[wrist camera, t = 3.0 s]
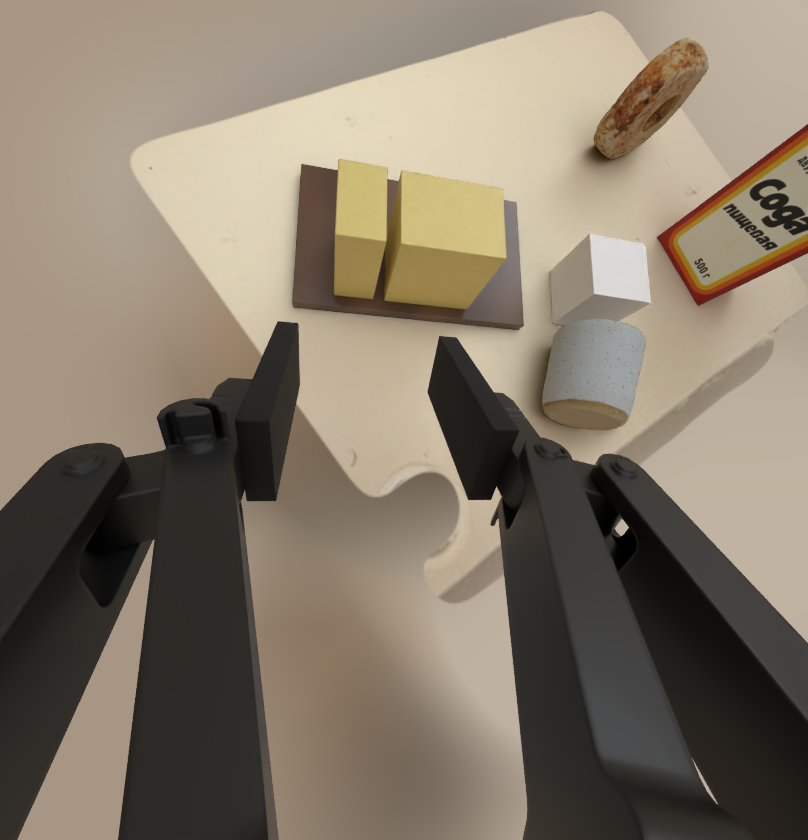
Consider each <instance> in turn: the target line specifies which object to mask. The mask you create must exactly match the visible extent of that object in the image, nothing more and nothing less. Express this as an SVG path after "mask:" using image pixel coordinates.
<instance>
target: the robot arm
mask: <svg viewBox="0 0 808 840" xmlns="http://www.w3.org/2000/svg"><path fill="white" fill-rule="evenodd" d="M299 386H300V373H299V330H298V323H290V322H279V321H278V322H277V324H276V327H275V329H274V331H273V333H272V336H271V338H270V340H269V342H268V345H267V347H266V349H265V352H264V354H263V356H262V358H261V361H260V363H259V365H258V368H257V370H256V372H255V375H254V377H253V379H238V378H228V379H227V380H225V381H224V382H222V383H221V384H219V385H218V386H217V387H216V389H215V391H214V393H213V394H212V397H211V398H210V399H205V398H201V399H199V398H192V399H187V400H181V401H178V402H175V403H173V404H170V405H168V406H167V407H165V408H164V409H162V410H161V411H160V413H159V415H158V416H157V420H158V423H159V426H160V430H161V433H162V436H163V440H164V443H165V446H166V450H163V451H159V452H155V453H151V454H145V455H139V456H133V457H127V458H124V455H123V453H122V451H121V449H120V448H119V447H116V446H115V445H112V444H106V443H93V444H84V445H80V446H76V447H73V448H70V449H67V450H65V451H63V452H61V453H59V454H57V455H55V456H54V457H52V458H51V459H50V460H48V461H47V462H46V463H45V464H44V465H43V466H42V467H41V468H40V469H39V470H38V471H37V472H36V473H35V474H34V475H33V476H32V478H30V480H29V481H28V482H27V483H26V484H25V485H24V486H23V487H22V489H20V490H19V491H18V492H17V493H16V495H15V496H14V497H13V498H12V499H11V500H10V501H9V502H8V503H7V504H6V505H5V506H4V508H3V509H2V510H1V511H0V840H17V839H18V837H19V834H20V832H21V830H22V828H23V826H24V823H25V821H26V819H27V817H28V814H29V812H30V810H31V808H32V806H33V804H34V801H35V799H36V797H37V795H38V792H39V790H40V788H41V786H42V783H43V781H44V779H45V777H46V775H47V773H48V770H49V768H50V766H51V764H52V762H53V759H54V757H55V755H56V752H57V750H58V748H59V746H60V744H61V742H62V739H63V737H64V735H65V733H66V731H67V728H68V726H69V724H70V722H71V720H72V717H73V715H74V713H75V711H76V708H77V706H78V704H79V702H80V700H81V698H82V695H83V693H84V691H85V689H86V686H87V684H88V682H89V680H90V678H91V675H92V673H93V671H94V669H95V667H96V664H97V662H98V660H99V658H100V656H101V653H102V651H103V649H104V646H105V645H106V642H107V640H108V638H109V636H110V633H111V631H112V629H113V627H114V625H115V622H116V620H117V618H118V616H119V614H120V611H121V609H122V607H123V605H124V603H125V600H126V598H127V596H128V594H129V591H130V589H131V587H132V585H133V582H134V580H135V578H136V576H137V574H138V572H139V569H140V567H141V565H142V563H143V561H144V558H145V556H146V554H147V551H148V550H149V547H150V545H151V543H152V541H153V540H154V539H155V542H154V549H153V558H152V566H151V574H150V582H149V590H148V598H147V607H146V616H145V623H144V631H143V640H142V649H141V656H140V664H139V672H138V681H137V689H136V697H135V705H134V713H133V722H132V730H131V738H130V746H129V755H128V763H127V771H126V779H125V788H124V796H123V804H122V813H121V820H120V828H119V837H118V840H279V839H278V830H277V821H276V811H275V803H274V793H273V785H272V775H271V767H270V757H269V748H268V739H267V729H266V721H265V711H264V702H263V693H262V684H261V676H260V665H259V657H258V647H257V639H256V629H255V620H254V611H253V602H252V593H251V584H250V574H249V565H248V556H247V547H246V538H245V528H244V519H243V511H242V505H241V499H242V496H243V493H244V490H245V492H246V498H247V501H276V498H277V493H278V488H279V484H280V479H281V473H282V469H283V464H284V459H285V454H286V449H287V445H288V440H289V435H290V429H291V425H292V420H293V415H294V410H295V406H296V401H297V396H298V391H299ZM428 395H429V397H430V400H431V403H432V405H433V408H434V411H435V413H436V416H437V419H438V421H439V424H440V427H441V429H442V432H443V434H444V437H445V440H446V442H447V445H448V448H449V450H450V453H451V456H452V458H453V461H454V463H455V466H456V469H457V471H458V474H459V477H460V479H461V482H462V485H463V487H464V490H465V492H466V495H467V498H468V500H491V499H492V496H493V494H494V491H495V489H496V486H497V488H498V490H499V492H500V494H501V496H502V497H501V499H500V501H499V504H498V506H497V508H496V511H495V513H494V515H493V518H492V520H491V526H494V525H495V523H496V521H497V519H498V518H499V527H500V537H501V547H502V557H503V567H504V577H505V586H506V596H507V606H508V616H509V626H510V636H511V646H512V655H513V665H514V675H515V685H516V695H517V704H518V714H519V724H520V734H521V744H522V753H523V764H524V774H525V783H526V793H527V821H526V826H525V831H524V836H523V840H808V643H807V642H806V641H805V640H804V639H803V638H802V637H801V635H799V634H798V632H797V631H796V630H795V629H794V628H793V627H792V626H791V625H790V624H789V623H788V622H787V621H786V620H785V619H784V618H783V617H782V615H781V614H780V613H779V612H778V611H777V610H776V609H775V608H774V607H773V606H772V605H771V604H770V603H769V602H768V601H767V600H766V599H765V597H764V596H763V595H762V594H761V593H760V592H759V591H758V590H757V589H756V588H755V587H754V586H753V585H752V584H751V583H750V582H749V580H747V578H746V577H745V576H744V575H743V574H742V573H741V572H740V571H739V570H738V569H737V568H736V567H735V566H734V565H733V564H732V562H731V561H729V559H728V558H727V557H726V556H725V555H724V554H723V553H722V552H721V551H720V550H719V549H718V548H717V547H716V546H715V545H714V543H713V542H712V541H711V540H710V539H709V538H708V537H707V536H706V535H705V534H704V533H703V532H702V531H701V530H700V529H699V528H698V527H697V525H695V524H694V522H693V521H692V520H691V519H690V518H689V517H688V516H687V515H686V514H685V513H684V512H683V511H682V510H681V509H680V507H679V506H678V505H677V504H676V503H675V502H674V501H673V500H672V499H671V498H670V497H669V496H668V495H667V494H666V493H665V492H664V491H663V489H662V488H661V487H660V486H659V485H657V483H656V482H655V481H654V480H653V479H652V478H651V477H650V476H649V475H648V474H647V473H646V472H645V471H644V470H643V469H642V468H641V467H640V466H639V465H638V464H636V463H634V462H633V461H631V460H630V459H628V458H626V457H623V456H620V455H614V454H603V455H602V456H600V457H599V459H598V460H597V462H596V464H595V465H591V464H587V463H583V462H579V461H575V460H572V457H571V455H570V454H569V452H568V451H567V450H566V449H565V448H564V447H562V446H561V445H560V444H558V443H556V442H554V441H552V440H549V439H546V438H540V436H539V435H538V434H537V432H536V431H535V430H534V428H533V427H532V426H531V424H530V423H529V421H528V420H527V419H526V418H524V417H525V416H524V415H523V413H522V412H521V411H519V408H518V407H517V405H516V404H515V402H514V401H513V400H511V399H510V398H509V397H507V396H506V395H505V394H503V393H494V392H493V391H492V389H491V388H490V386H489V385H488V383H487V382H486V380H485V379H484V377H483V376H482V374H481V373H480V371H479V370H478V369H477V367H476V366H475V364H474V363H473V361H472V360H471V358H470V357H469V355H468V354H467V352H466V351H465V349H464V348H463V346H462V345H461V343H460V342H459V340H458V339H457V338H455V337H444V336H439V340H438V345H437V350H436V355H435V359H434V364H433V369H432V373H431V378H430V383H429V387H428ZM621 519H623V520H624V521H625V523H626V524H627V525H628V527H629V528H628V530H627V531H626V532H625V534H624V535H623V536H620V535H619V534H618V533H617V532H616V530H615V529H614V528H615V527H616V526H617V524H618V523H619V522H620V520H621ZM692 758H693V760H694V762H695V764H696V765H697V767H698V769H699V771H700V772H701V774H702V776H703V778H704V780H705V782H706V783H707V785H708V787H709V789H710V790H711V792H712V794H713V795H714V797H715V799H716V801H717V803H718V804H716V803H715V801H714V800H713V799H712V798H711V796H710V795H709V794H708V792H707V791H706V789H705V787H704V785H703V783H702V781H701V779H700V777H699V775H698V772H697V770H696V768H695V765H694V762H693V760H692Z"/></svg>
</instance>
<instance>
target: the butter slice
mask: <svg viewBox="0 0 808 840" xmlns="http://www.w3.org/2000/svg"><path fill="white" fill-rule="evenodd" d="M387 173H388V169H387V168H386V167H381V166H376V165H370V164H365V163H359V162H354V161H349V160H343V159H339V160H338V178H337V200H336V223H335V265H334V295H337V296H346V297H355V298H364V299H373V297H374V293H375V289H376V284H377V280H378V276H379V271H380V267H381V263H382V258H383V254H384V250H385V245H386V239H387Z"/></svg>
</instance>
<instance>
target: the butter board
mask: <svg viewBox="0 0 808 840" xmlns="http://www.w3.org/2000/svg"><path fill="white" fill-rule="evenodd" d="M337 178H338V170H333V169H327V168H321V167H316V166H310V165H304V164H302V165H301V179H300V194H299V210H298V225H297V240H296V255H295V270H294V285H293V301H292V302H293V306H294V307H297V308H307V309H317V310H327V311H337V312H347V313H357V314H367V315H378V316H388V317H398V318H408V319H418V320H428V321H438V322H448V323H458V324H468V325H478V326H488V327H498V328H508V329H518V330H519V329H520V328H521V327H522V326H523V325H524V323H523V306H522V289H521V272H520V256H519V239H518V222H517V205H516V202H512V201H506V200H503V201H504V221H505V240H506V260H505V261H504V262H503V264H502V265H501V266H500V267H499V269H498V270H497V271H496V273H495V274H494V275H493V276H492V278H491V279H490V280H489V281H488V283H487V284H486V285H485V287H484V288H483V289H482V290H481V292H480V293H479V294H478V295H477V297H476V298H475V299H474V301H473V302H472V303H471V304H470V306H469V307H468V308H467V309H466V310H464V309H455V308H446V307H437V306H428V305H418V304H409V303H400V302H391V301H384V278H385V250H384V254H383V258H382V263H381V267H380V271H379V276H378V280H377V284H376V289H375V293H374V297H373V299H364V298H355V297H346V296H337V295H334V265H335V223H336V200H337ZM398 183H399V181H394V180H389V179H387V232H388V227H389V223H390V219H391V214H392V210H393V205H394V201H395V197H396V192H397V188H398Z"/></svg>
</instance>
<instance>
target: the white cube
mask: <svg viewBox="0 0 808 840" xmlns="http://www.w3.org/2000/svg"><path fill="white" fill-rule="evenodd" d="M550 281H551V301H552V322H553V324H561V325H568V324H571V323H573V322H577V321H581V320H590V319H607V320H614V321H619V320H621V319H623V318H625V317H627V316H628V315H630V314H632V313H634V312H635V311H637V310H639V309H641V308H643V307H644V306H646V305H648V304H650V303H651V296H650V287H649V277H648V268H647V258H646V249H645V244H640V243H635V242H630V241H625V240H620V239H614V238H609V237H604V236H599V235H594V234H589V235H588V236H587V237H586V238H585V239H584V240H583V241H582V242H581V243H579V244H578V245H577V246H576V247H575V248H574V249H573V250H572V251H571V252H570V253H569V254H568V255H567V256H566V257H565V258H564V259H563V260H562V261H561V262H560V263H559V264H558V265H557V266H555V267H554V268H553V269H552V270H551V271H550Z"/></svg>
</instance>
